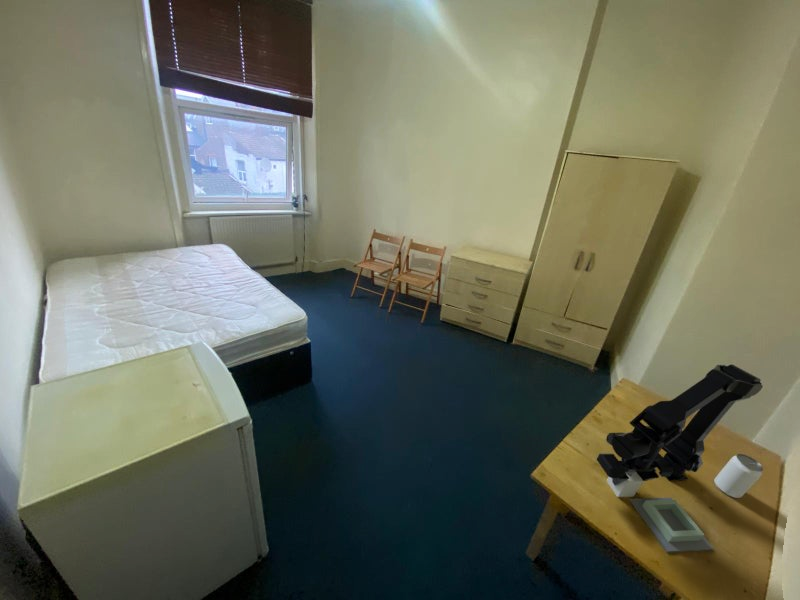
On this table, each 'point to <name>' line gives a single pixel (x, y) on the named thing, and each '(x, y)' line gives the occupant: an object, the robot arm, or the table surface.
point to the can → (738, 475)
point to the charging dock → (671, 525)
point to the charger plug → (627, 485)
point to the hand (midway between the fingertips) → (622, 483)
